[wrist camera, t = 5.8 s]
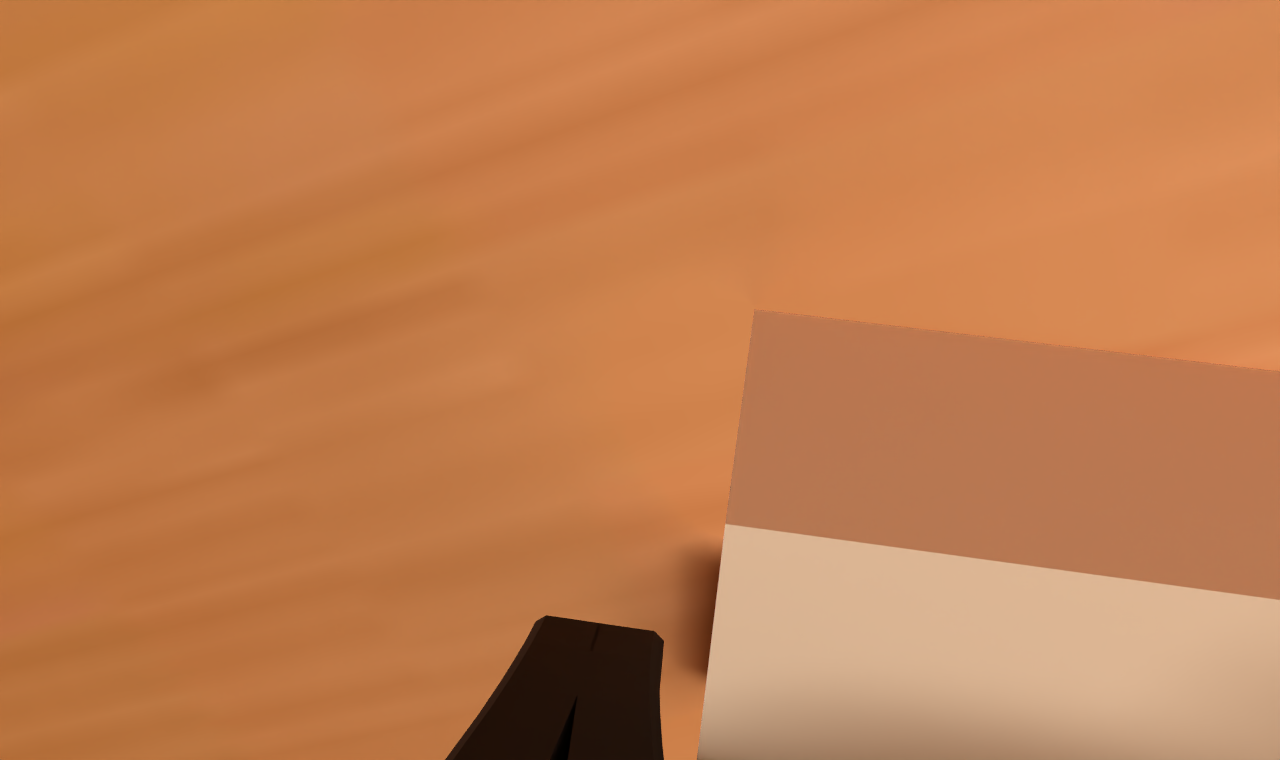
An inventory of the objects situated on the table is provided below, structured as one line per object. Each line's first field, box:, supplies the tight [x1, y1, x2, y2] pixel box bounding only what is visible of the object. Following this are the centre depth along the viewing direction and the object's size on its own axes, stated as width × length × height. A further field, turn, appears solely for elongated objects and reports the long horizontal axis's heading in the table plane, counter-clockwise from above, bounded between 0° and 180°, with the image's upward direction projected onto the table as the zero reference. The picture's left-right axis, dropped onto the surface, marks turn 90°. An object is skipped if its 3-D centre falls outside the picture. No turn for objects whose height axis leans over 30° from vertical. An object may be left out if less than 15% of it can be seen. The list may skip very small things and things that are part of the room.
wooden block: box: [697, 309, 1280, 760], centre depth 12 cm, size 8×8×4 cm
